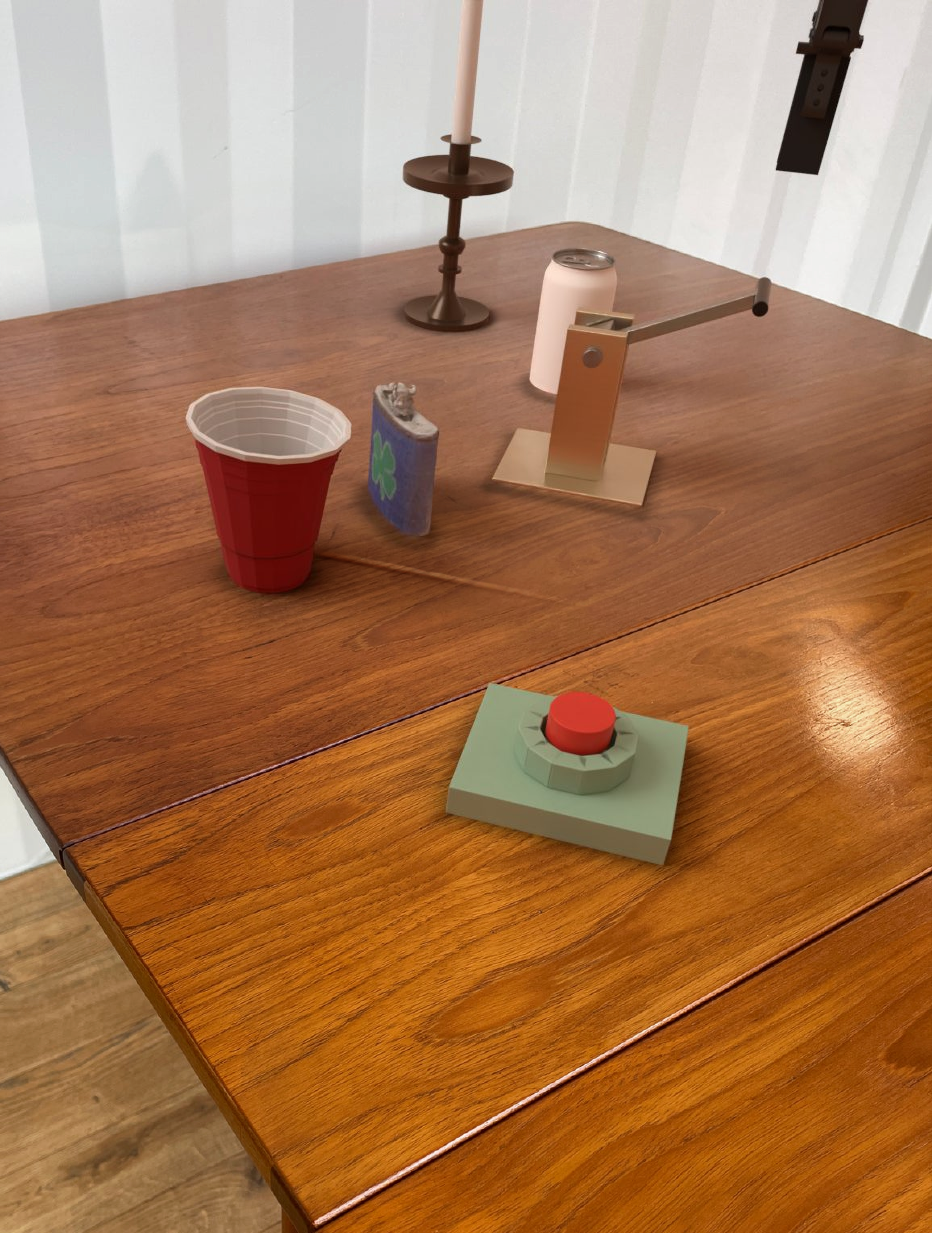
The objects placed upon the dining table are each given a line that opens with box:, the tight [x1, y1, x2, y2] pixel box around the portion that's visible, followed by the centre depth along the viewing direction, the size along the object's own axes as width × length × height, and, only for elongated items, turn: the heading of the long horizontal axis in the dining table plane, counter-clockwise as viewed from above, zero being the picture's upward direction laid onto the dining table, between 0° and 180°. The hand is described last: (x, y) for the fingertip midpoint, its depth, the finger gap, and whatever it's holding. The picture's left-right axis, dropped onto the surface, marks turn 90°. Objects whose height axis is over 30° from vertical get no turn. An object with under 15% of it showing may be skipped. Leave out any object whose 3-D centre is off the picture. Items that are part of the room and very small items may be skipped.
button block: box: [445, 682, 690, 866], centre depth 63 cm, size 12×10×4 cm
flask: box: [366, 382, 440, 537], centre depth 83 cm, size 9×3×11 cm, turn 20°
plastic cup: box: [185, 386, 352, 594], centre depth 76 cm, size 11×11×12 cm
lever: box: [592, 276, 773, 346], centre depth 83 cm, size 14×6×2 cm, turn 72°
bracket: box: [491, 307, 657, 508], centre depth 89 cm, size 12×10×13 cm
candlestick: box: [402, 0, 515, 333], centre depth 107 cm, size 11×11×35 cm
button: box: [545, 691, 616, 756], centre depth 62 cm, size 4×4×2 cm
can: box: [529, 247, 618, 395], centre depth 102 cm, size 6×6×12 cm
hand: (797, 166), depth 74 cm, fingers closed
